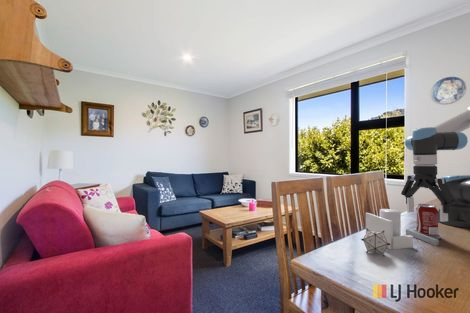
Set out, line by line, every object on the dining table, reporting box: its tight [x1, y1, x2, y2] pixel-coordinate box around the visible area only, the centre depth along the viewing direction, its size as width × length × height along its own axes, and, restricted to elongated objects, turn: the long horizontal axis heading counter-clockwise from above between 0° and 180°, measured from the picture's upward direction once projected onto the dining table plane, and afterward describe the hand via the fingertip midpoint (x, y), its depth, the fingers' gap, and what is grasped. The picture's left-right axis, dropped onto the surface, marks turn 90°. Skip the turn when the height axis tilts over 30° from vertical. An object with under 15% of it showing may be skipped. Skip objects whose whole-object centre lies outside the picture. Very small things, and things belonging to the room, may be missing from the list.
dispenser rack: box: [365, 208, 439, 250], centre depth 86 cm, size 20×12×12 cm, turn 99°
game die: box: [360, 227, 390, 257], centre depth 75 cm, size 9×8×10 cm
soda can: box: [415, 203, 439, 236], centre depth 91 cm, size 7×7×12 cm
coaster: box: [411, 229, 441, 240], centre depth 91 cm, size 9×9×1 cm
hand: (426, 216), depth 91 cm, fingers open, 13 cm apart
